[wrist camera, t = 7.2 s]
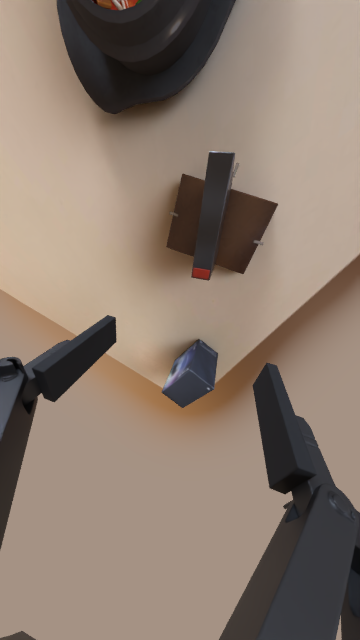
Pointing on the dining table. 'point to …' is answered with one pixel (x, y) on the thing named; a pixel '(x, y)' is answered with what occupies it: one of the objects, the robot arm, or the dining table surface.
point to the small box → (192, 374)
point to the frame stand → (238, 229)
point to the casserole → (139, 46)
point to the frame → (212, 212)
